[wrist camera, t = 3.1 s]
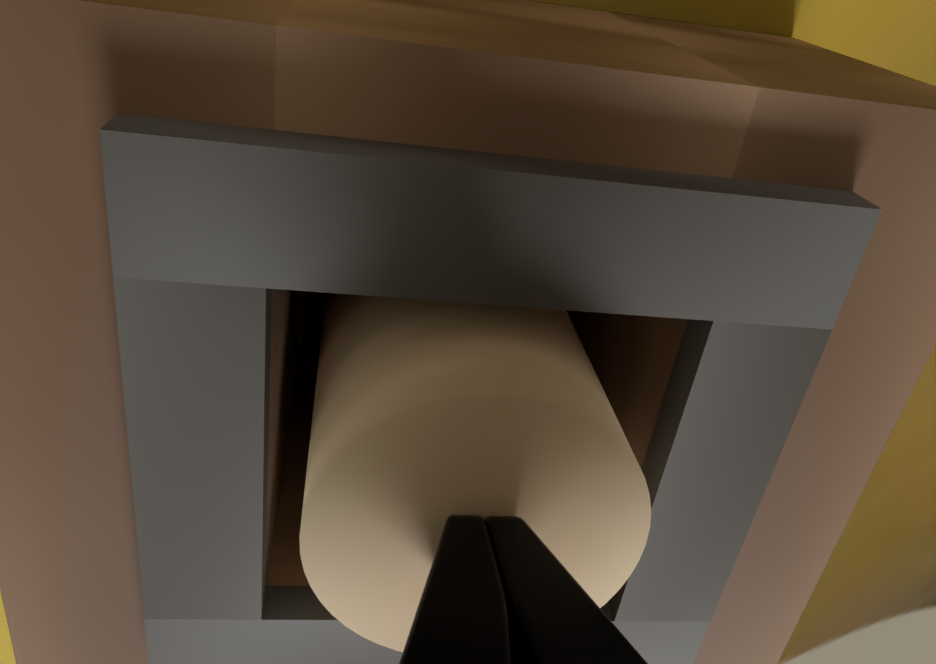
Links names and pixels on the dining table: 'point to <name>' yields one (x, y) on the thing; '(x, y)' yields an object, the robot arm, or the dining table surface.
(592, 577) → the peg
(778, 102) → the walnut block
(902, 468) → the dining table surface
